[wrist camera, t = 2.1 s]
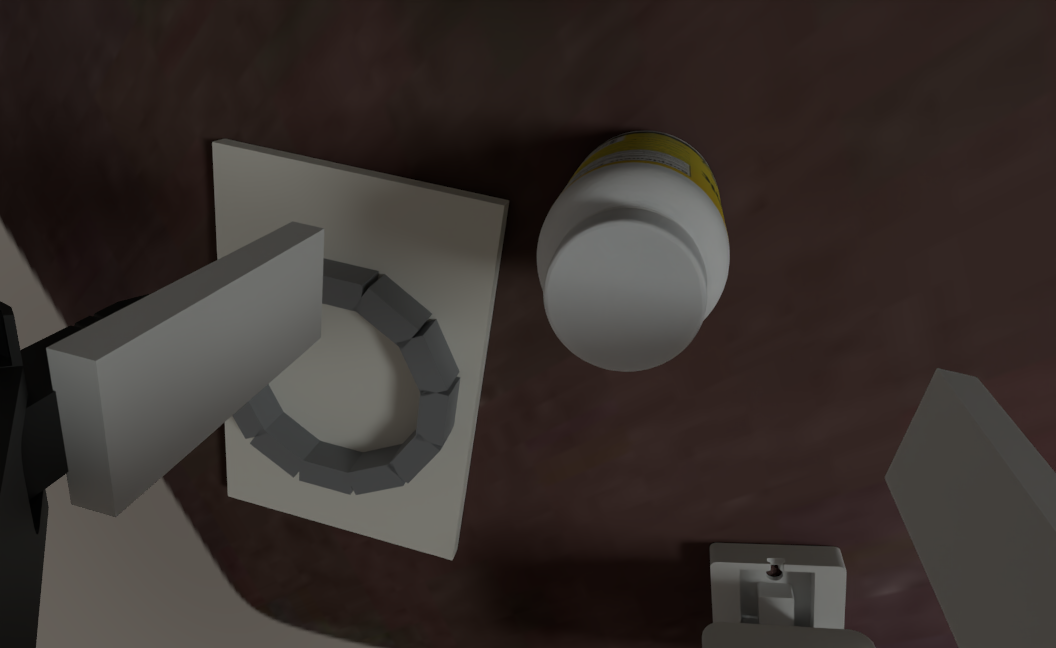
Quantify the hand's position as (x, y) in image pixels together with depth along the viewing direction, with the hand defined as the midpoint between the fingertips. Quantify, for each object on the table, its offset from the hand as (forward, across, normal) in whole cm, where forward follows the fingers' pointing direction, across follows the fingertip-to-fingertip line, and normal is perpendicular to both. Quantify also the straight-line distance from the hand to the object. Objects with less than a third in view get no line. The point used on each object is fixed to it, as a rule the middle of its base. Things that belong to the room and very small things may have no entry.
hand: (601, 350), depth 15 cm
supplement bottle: (+12, 0, 0) cm, 12 cm away
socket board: (+12, -11, -10) cm, 19 cm away
